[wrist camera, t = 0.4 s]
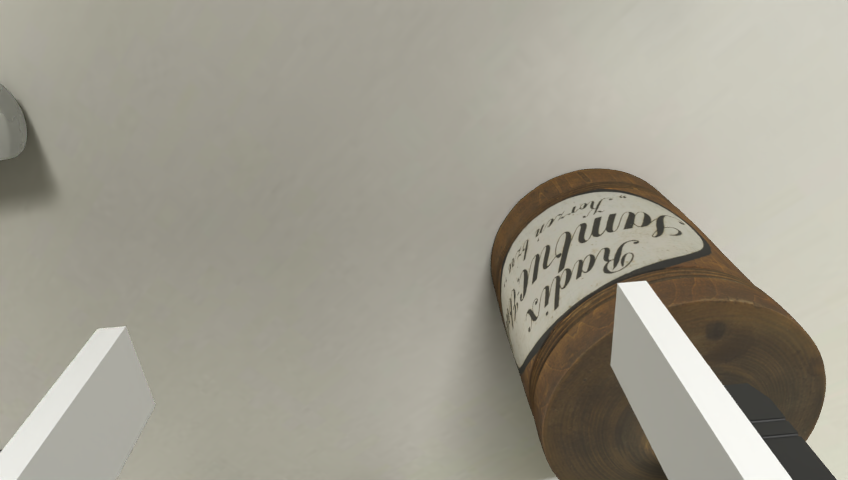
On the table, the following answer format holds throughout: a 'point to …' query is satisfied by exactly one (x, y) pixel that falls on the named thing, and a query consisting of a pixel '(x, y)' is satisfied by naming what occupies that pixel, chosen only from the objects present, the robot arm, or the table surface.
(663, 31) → the table surface
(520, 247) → the wooden container
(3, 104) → the metal assembly
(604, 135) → the table surface
